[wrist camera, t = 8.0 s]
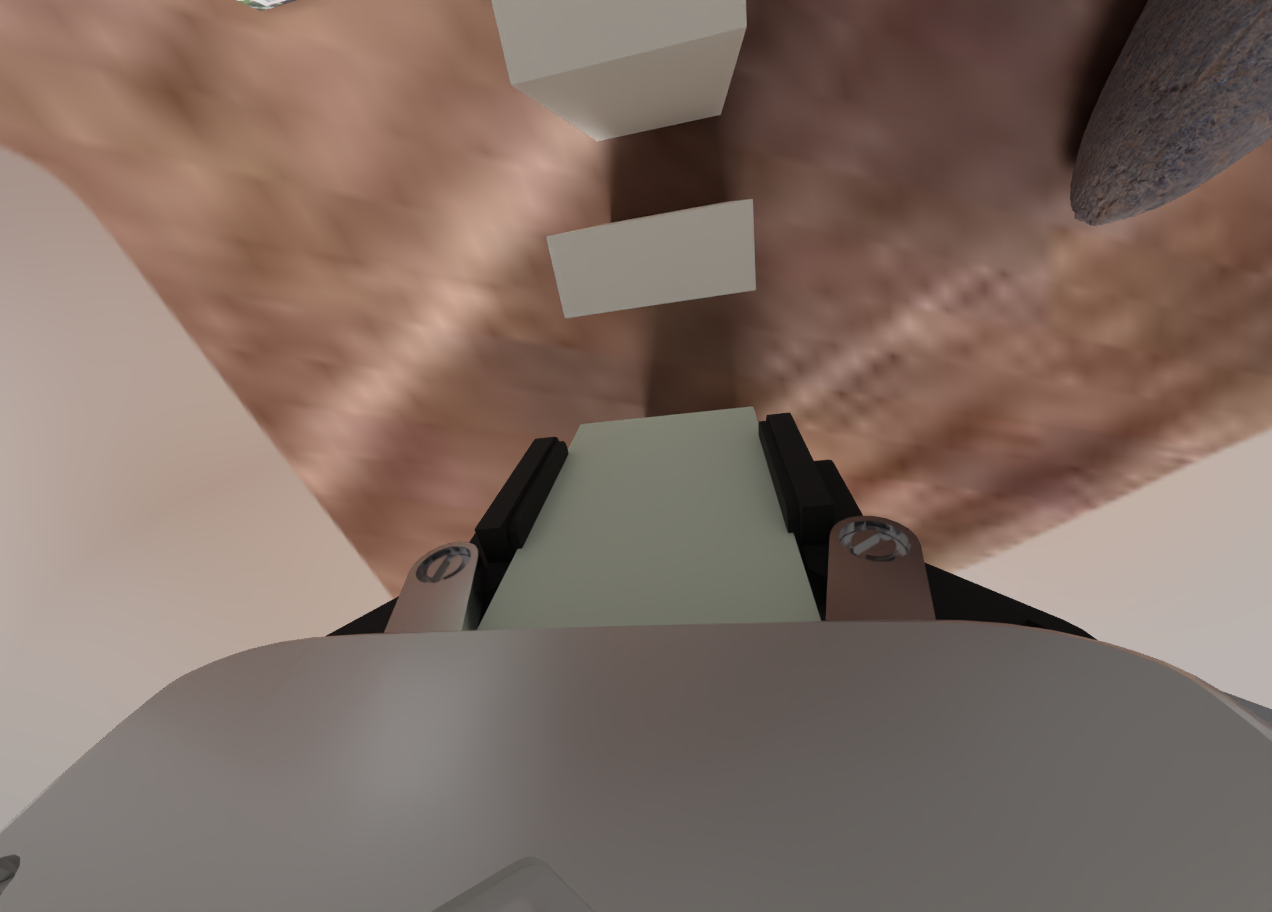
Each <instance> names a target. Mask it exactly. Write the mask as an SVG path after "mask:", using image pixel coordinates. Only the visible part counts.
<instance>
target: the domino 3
mask: <svg viewBox="0 0 1272 912" xmlns="http://www.w3.org/2000/svg"><path fill="white" fill-rule="evenodd" d="M568 453H569V454H568V456H567V458H566V461H565V463H564V465H563V467H562V469H561V471H560V473H559V475H558V477H557V479H556V481H555V483H554V485H553V487H552V489H551V491H550V493H549V495H548V497H547V499H546V501H545V503H544V505H543V507H542V509H541V511H540V513H539V515H538V517H537V519H536V521H535V523H534V526H533V528H532V530H531V532H530V534H529V536H528V538H527V540H526V542H525V544H524V546H523V548H522V549H517V551H516V553H515V555H514V557H513V559H512V561H511V563H510V565H509V567H508V569H507V571H506V573H505V575H504V577H503V579H502V581H501V583H500V585H499V587H498V589H497V591H496V593H495V595H494V597H493V599H492V601H491V603H490V605H489V607H488V609H487V611H486V613H485V615H484V617H483V619H482V621H481V623H480V625H479V627H478V629H477V630H494V629H531V628H567V627H604V626H639V625H674V624H710V623H749V622H793V621H821V619H820V616H819V613H818V609H817V606H816V603H815V600H814V597H813V594H812V590H811V587H810V584H809V581H808V578H807V575H806V572H805V568H804V565H803V562H802V559H801V556H800V553H799V549H798V546H797V543H796V540H795V537H794V534H793V533H788V532H787V529H786V526H785V522H784V519H783V515H782V512H781V509H780V505H779V502H778V499H777V495H776V492H775V489H774V485H773V482H772V479H771V475H770V472H769V469H768V465H767V462H766V459H765V455H764V452H763V449H762V445H761V442H760V439H759V430H758V420H757V417H756V414H755V411H754V407H753V406H751V407H742V408H732V409H723V410H713V411H704V412H694V413H685V414H675V415H665V416H656V417H646V418H637V419H627V420H618V421H608V422H599V423H589V424H581V425H580V427H579V429H578V431H577V433H576V435H575V437H574V439H573V441H572V443H571V445H570V447H569V449H568Z"/></svg>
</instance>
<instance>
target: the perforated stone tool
mask: <svg viewBox="0 0 1272 912" xmlns="http://www.w3.org/2000/svg"><path fill="white" fill-rule="evenodd" d="M1271 137H1272V0H1148V2H1147V4H1146V5H1145V7H1144V9H1143V11H1142V13H1141V15H1140V17H1139V18H1138V20H1137V22H1136V24H1135V26H1134V28H1133V30H1132V32H1131V34H1130V35H1129V37H1128V39H1127V41H1126V43H1125V45H1124V47H1123V49H1122V51H1121V53H1120V55H1119V57H1118V59H1117V61H1116V63H1115V65H1114V67H1113V69H1112V71H1111V73H1110V75H1109V77H1108V79H1107V81H1106V83H1105V85H1104V87H1103V90H1102V92H1101V94H1100V96H1099V99H1098V101H1097V103H1096V106H1095V108H1094V110H1093V112H1092V114H1091V117H1090V119H1089V122H1088V125H1087V127H1086V130H1085V132H1084V135H1083V138H1082V141H1081V144H1080V148H1079V151H1078V155H1077V159H1076V163H1075V167H1074V171H1073V175H1072V181H1071V195H1070V200H1071V207H1072V208H1073V209H1072V210H1073V211H1074V212H1075V219H1077V220H1080V221H1085V222H1086V223H1089V225H1094V226H1097V225H1102V224H1106V223H1110V222H1113V221H1116V220H1120V219H1126V218H1129V217H1133V216H1136V215H1138V214H1141V213H1143V212H1146V211H1148V210H1153V209H1155V208H1158V207H1160V206H1162V205H1164V204H1166V203H1168V202H1170V201H1172V200H1175V199H1176V198H1178V197H1180V196H1182V195H1184V194H1186V193H1188V192H1190V191H1192V190H1193V189H1195V188H1197V187H1198V186H1200V185H1201V184H1203V183H1204V182H1206V181H1208V180H1209V179H1211V178H1212V177H1214V176H1215V175H1217V174H1218V173H1220V172H1221V171H1223V170H1224V169H1226V168H1227V167H1229V166H1230V165H1232V164H1233V163H1234V162H1236V161H1237V160H1239V159H1240V158H1241V157H1243V156H1244V155H1246V154H1247V153H1249V152H1251V151H1252V150H1253V149H1255V148H1257V147H1258V146H1260V145H1261V144H1263V143H1264V142H1265V141H1267V140H1268V139H1269V138H1271Z"/></svg>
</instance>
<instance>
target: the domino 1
mask: <svg viewBox="0 0 1272 912" xmlns="http://www.w3.org/2000/svg"><path fill="white" fill-rule="evenodd" d="M492 5H493V9H494V13H495V18H496V22H497V26H498V31H499V35H500V39H501V44H502V48H503V52H504V57H505V61H506V65H507V70H508V74H509V78H510V83H511V85H512V86H513V87H515V88H516V89H518V90H519V91H521V92H522V93H524V94H525V95H527V96H528V97H530V98H531V99H533V100H535V101H536V102H538V103H539V104H541V105H542V106H544V107H545V108H547V109H548V110H550V111H551V112H553V113H554V114H556V115H557V116H559V117H561V118H562V119H564V120H565V121H567V122H568V123H570V124H571V125H573V126H574V127H576V128H577V129H579V130H580V131H582V132H583V133H585V134H587V135H588V136H590V137H591V138H593V139H594V140H596V141H602V140H607V139H611V138H616V137H620V136H625V135H630V134H634V133H639V132H643V131H648V130H653V129H657V128H662V127H667V126H671V125H676V124H680V123H685V122H690V121H694V120H699V119H703V118H708V117H713V116H717V115H721V112H722V109H723V106H724V102H725V99H726V95H727V92H728V89H729V85H730V82H731V78H732V75H733V72H734V68H735V65H736V61H737V58H738V55H739V51H740V48H741V44H742V41H743V38H744V34H745V31H746V27H747V20H746V0H492Z"/></svg>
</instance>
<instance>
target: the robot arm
mask: <svg viewBox="0 0 1272 912" xmlns="http://www.w3.org/2000/svg"><path fill="white" fill-rule="evenodd" d="M758 430H759V439H760V442H761V445H762V449H763V452H764V455H765V459H766V462H767V465H768V469H769V472H770V475H771V479H772V482H773V485H774V489H775V492H776V495H777V499H778V502H779V505H780V509H781V512H782V515H783V519H784V522H785V526H786V529H787V532H788V533H793V534H794V537H795V540H796V543H797V546H798V549H799V553H800V556H801V559H802V562H803V565H804V568H805V572H806V575H807V578H808V581H809V584H810V587H811V590H812V594H813V597H814V600H815V603H816V606H817V609H818V613H819V616H820V619H821V621H793V622H749V623H710V624H674V625H639V626H604V627H567V628H531V629H494V630H477V629H478V627H479V625H480V623H481V621H482V619H483V617H484V615H485V613H486V611H487V609H488V607H489V605H490V603H491V601H492V599H493V597H494V595H495V593H496V591H497V589H498V587H499V585H500V583H501V581H502V579H503V577H504V575H505V573H506V571H507V569H508V567H509V565H510V563H511V561H512V559H513V557H514V555H515V553H516V551H517V549H522V548H523V546H524V544H525V542H526V540H527V538H528V536H529V534H530V532H531V530H532V528H533V526H534V523H535V521H536V519H537V517H538V515H539V513H540V511H541V509H542V507H543V505H544V503H545V501H546V499H547V497H548V495H549V493H550V491H551V489H552V487H553V485H554V483H555V481H556V479H557V477H558V475H559V473H560V471H561V469H562V467H563V465H564V463H565V461H566V458H567V456H568V454H569V453H568V449H567V446H566V443H565V442H564V441H561V442H559V440H558V438H557V437H548V438H539V439H535V440H534V441H533V443H532V444H531V446H530V447H529V449H528V450H527V452H526V453H525V455H524V456H523V458H522V459H521V461H520V462H519V464H518V465H517V467H516V468H515V470H514V471H513V473H512V474H511V476H510V477H509V479H508V480H507V482H506V483H505V485H504V486H503V488H502V489H501V491H500V492H499V494H498V495H497V497H496V498H495V500H494V501H493V503H492V504H491V506H490V507H489V509H488V510H487V512H486V513H485V515H484V516H483V518H482V519H481V521H480V522H479V524H478V525H477V527H476V528H475V532H476V533H475V535H474V536H473V538H472V539H471V541H470V542H461V541H460V542H453V543H448V544H445V545H442V546H439V547H437V548H435V549H433V550H431V551H430V552H428V553H427V554H425V555H424V556H422V557H421V558H420V559H419V560H418V561H417V562H416V563H415V564H414V565H413V567H412V568H411V570H410V571H409V573H408V576H407V578H406V581H405V583H404V586H403V588H402V590H401V593H400V595H399V596H398V597H397V598H395V599H393V600H391V601H389V602H387V603H386V604H384V605H382V606H380V607H378V608H377V609H375V610H373V611H371V612H369V613H367V614H365V615H363V616H362V617H360V618H358V619H356V620H354V621H352V622H351V623H349V624H347V625H345V626H343V627H342V628H340V629H338V630H336V631H334V632H332V633H330V634H329V635H327V636H325V637H312V638H305V639H298V640H291V641H284V642H278V643H274V644H270V645H265V646H261V647H257V648H253V649H249V650H246V651H243V652H239V653H236V654H234V655H231V656H228V657H225V658H222V659H219V660H217V661H214V662H212V663H209V664H207V665H205V666H203V667H200V668H198V669H196V670H194V671H191V672H189V673H187V674H185V675H183V676H181V677H180V678H178V679H176V680H175V681H173V682H172V683H170V684H169V685H167V686H166V687H165V688H163V689H162V690H161V691H159V692H158V693H157V694H155V695H154V696H153V697H152V698H150V699H149V700H148V701H147V702H145V703H144V704H143V705H142V706H141V707H139V709H137V710H136V711H134V712H133V713H132V714H131V715H130V716H128V717H127V718H126V719H125V720H123V721H122V722H121V723H120V724H119V725H117V726H116V727H115V728H114V729H113V730H112V731H110V732H109V733H108V734H107V735H106V736H105V737H104V738H103V739H101V740H100V741H99V742H98V743H97V744H96V745H94V746H93V747H92V748H91V749H90V750H89V751H88V752H86V753H85V754H84V755H83V756H82V757H81V758H80V759H79V760H77V761H76V762H75V763H74V764H73V765H72V766H71V767H70V768H68V769H67V770H66V771H65V772H64V773H63V774H62V775H61V776H60V777H58V778H57V779H56V780H55V781H54V782H53V783H52V784H51V785H49V786H48V788H46V789H45V790H44V791H43V792H42V793H41V794H40V795H39V796H37V797H36V798H35V799H34V800H33V801H32V802H31V803H30V804H29V805H28V806H27V807H26V808H25V809H23V810H22V811H21V812H20V813H19V814H18V815H17V816H16V817H15V818H14V819H12V820H11V821H10V822H9V823H8V824H7V825H6V826H5V827H4V828H3V829H2V830H0V912H1272V709H1269V708H1266V707H1263V706H1261V705H1258V704H1255V703H1252V702H1250V701H1247V700H1245V699H1242V698H1239V697H1236V696H1234V695H1231V694H1228V693H1225V692H1223V691H1220V690H1219V689H1217V688H1215V687H1214V686H1212V685H1210V684H1208V683H1207V682H1205V681H1203V680H1202V679H1200V678H1198V677H1197V676H1195V675H1193V674H1190V673H1188V672H1186V671H1184V670H1182V669H1180V668H1177V667H1175V666H1173V665H1171V664H1169V663H1166V662H1164V661H1161V660H1158V659H1156V658H1153V657H1150V656H1147V655H1144V654H1141V653H1139V652H1136V651H1133V650H1129V649H1126V648H1123V647H1119V646H1116V645H1113V644H1110V643H1106V642H1101V641H1098V640H1097V639H1095V638H1094V637H1092V636H1091V635H1090V634H1088V633H1087V632H1085V631H1084V630H1082V629H1080V628H1078V627H1076V626H1074V625H1072V624H1070V623H1069V622H1067V621H1065V620H1062V619H1060V618H1057V617H1055V616H1053V615H1050V614H1048V613H1045V612H1043V611H1040V610H1038V609H1036V608H1033V607H1031V606H1028V605H1026V604H1024V603H1021V602H1019V601H1016V600H1014V599H1012V598H1009V597H1007V596H1004V595H1002V594H999V593H997V592H994V591H992V590H990V589H987V588H985V587H983V586H980V585H978V584H975V583H973V582H970V581H968V580H965V579H963V578H961V577H958V576H956V575H953V574H951V573H949V572H946V571H944V570H941V569H939V568H937V567H934V566H932V565H929V564H927V563H924V558H923V554H922V549H921V544H920V542H919V540H918V538H917V536H916V535H915V534H914V533H913V532H912V531H910V530H909V529H908V528H906V527H905V526H903V525H901V524H899V523H898V522H895V521H892V520H889V519H886V518H881V517H875V516H863V515H862V513H861V511H860V509H859V508H858V506H857V504H856V502H855V500H854V499H853V497H852V495H851V493H850V491H849V490H848V488H847V486H846V484H845V482H844V481H843V479H842V477H841V475H840V474H839V472H838V470H837V468H836V466H835V465H834V463H833V462H832V460H821V461H813V459H812V457H811V455H810V452H809V450H808V448H807V446H806V444H805V442H804V440H803V438H802V436H801V434H800V432H799V430H798V428H797V426H796V424H795V422H794V419H793V417H792V415H791V414H790V413H781V414H772V415H767V417H766V421H759V423H758Z"/></svg>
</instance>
